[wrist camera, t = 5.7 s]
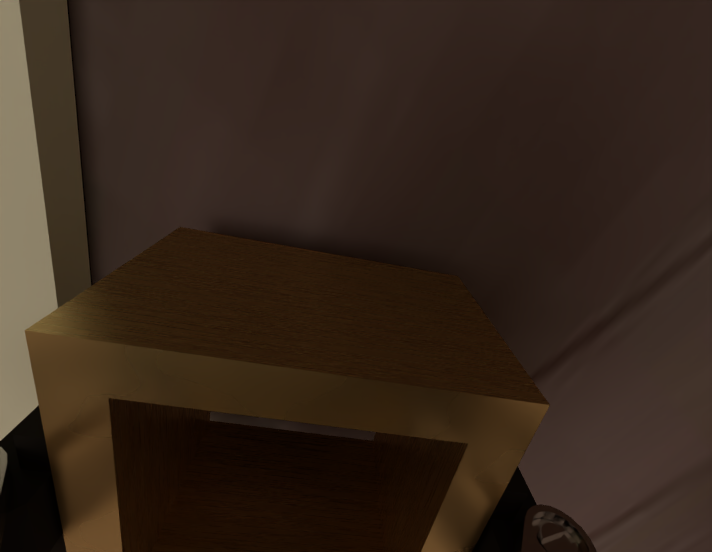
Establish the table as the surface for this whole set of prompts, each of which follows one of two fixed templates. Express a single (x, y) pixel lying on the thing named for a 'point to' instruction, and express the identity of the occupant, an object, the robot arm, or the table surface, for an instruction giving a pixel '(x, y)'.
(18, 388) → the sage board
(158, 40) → the table surface
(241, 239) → the tan wooden square frame
